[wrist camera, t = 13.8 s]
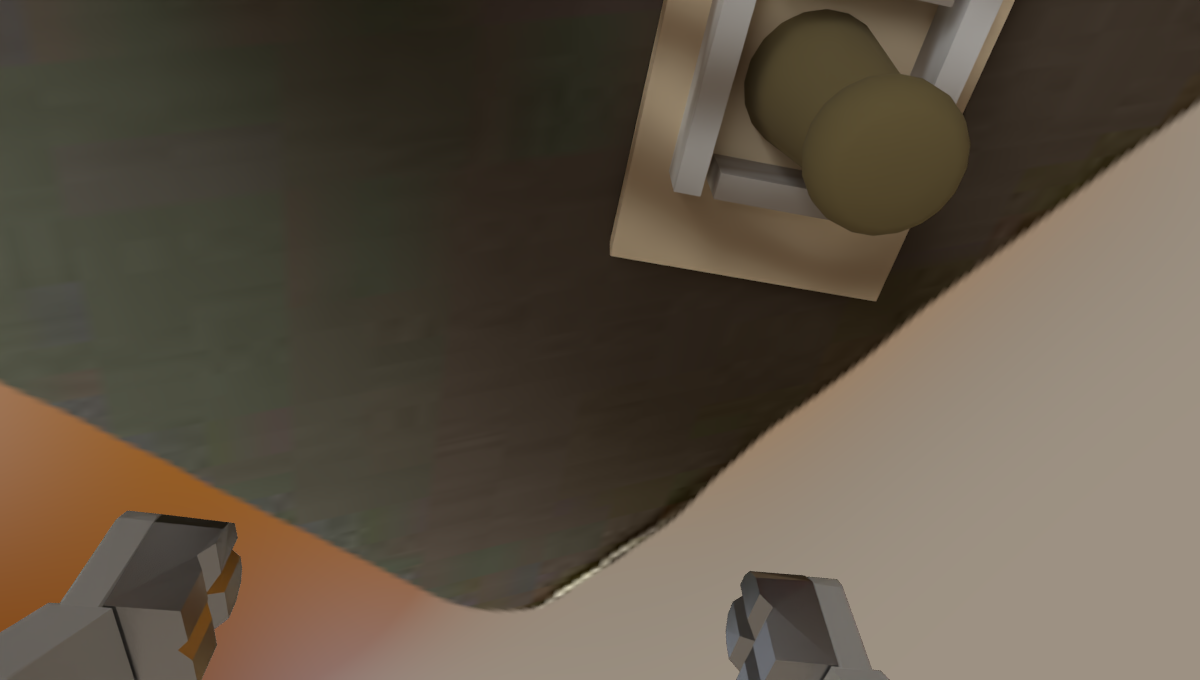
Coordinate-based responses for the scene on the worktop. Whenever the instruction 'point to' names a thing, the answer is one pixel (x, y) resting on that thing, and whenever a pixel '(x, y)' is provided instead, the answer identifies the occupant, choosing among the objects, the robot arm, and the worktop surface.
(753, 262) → the collar board
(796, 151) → the cork
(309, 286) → the worktop surface
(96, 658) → the robot arm
